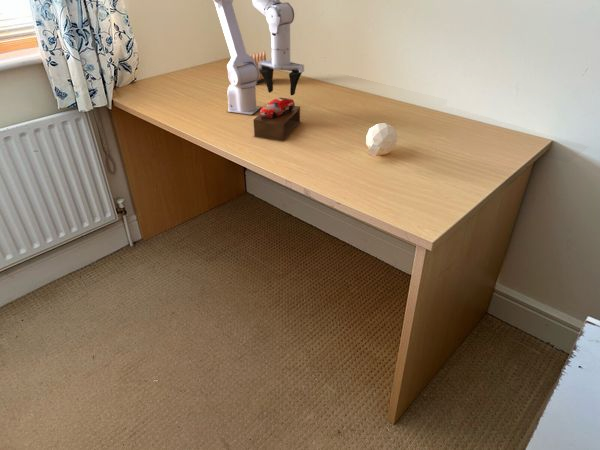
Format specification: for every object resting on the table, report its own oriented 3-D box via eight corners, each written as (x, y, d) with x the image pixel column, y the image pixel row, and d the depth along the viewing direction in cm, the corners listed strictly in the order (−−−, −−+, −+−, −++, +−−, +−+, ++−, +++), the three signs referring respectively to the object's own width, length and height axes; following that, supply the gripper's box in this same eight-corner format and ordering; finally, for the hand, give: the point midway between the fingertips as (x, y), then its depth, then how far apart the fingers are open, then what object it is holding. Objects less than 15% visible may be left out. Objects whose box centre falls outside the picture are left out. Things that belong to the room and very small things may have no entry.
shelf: (254, 136, 135) (253, 119, 132) (274, 119, 148) (273, 102, 145) (282, 140, 133) (282, 123, 130) (300, 122, 145) (300, 106, 142)
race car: (269, 120, 132) (269, 108, 129) (256, 116, 134) (256, 104, 132) (297, 109, 140) (297, 96, 137) (285, 105, 143) (284, 93, 140)
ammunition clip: (249, 85, 179) (247, 55, 172) (246, 84, 180) (244, 54, 173) (268, 80, 185) (267, 50, 178) (265, 79, 186) (264, 50, 179)
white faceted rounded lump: (367, 137, 131) (353, 157, 123) (378, 112, 124) (364, 131, 116) (393, 150, 129) (381, 171, 122) (406, 125, 123) (393, 146, 115)
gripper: (253, 48, 130) (255, 94, 137) (298, 53, 126) (298, 99, 133) (263, 44, 135) (264, 87, 143) (306, 48, 131) (306, 92, 139)
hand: (281, 93), depth 138 cm, fingers open, 7 cm apart
